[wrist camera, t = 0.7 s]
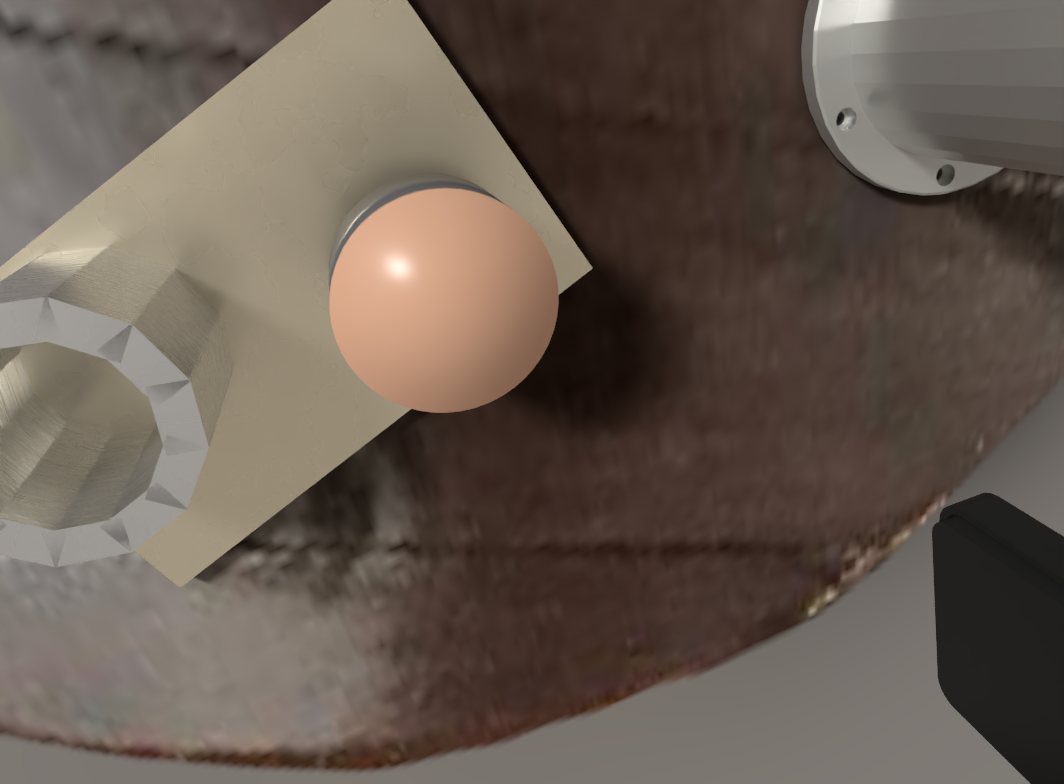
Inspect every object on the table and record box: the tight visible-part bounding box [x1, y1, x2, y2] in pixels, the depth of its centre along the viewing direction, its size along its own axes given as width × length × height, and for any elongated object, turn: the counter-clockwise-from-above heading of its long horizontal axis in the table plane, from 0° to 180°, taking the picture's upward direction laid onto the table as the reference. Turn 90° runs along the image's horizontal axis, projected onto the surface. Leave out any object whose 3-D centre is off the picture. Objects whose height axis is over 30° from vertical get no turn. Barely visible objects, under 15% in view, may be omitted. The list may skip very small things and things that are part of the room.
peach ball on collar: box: [329, 173, 559, 413], centre depth 27 cm, size 7×7×7 cm
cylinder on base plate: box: [0, 0, 593, 588], centre depth 27 cm, size 21×13×8 cm, turn 126°
